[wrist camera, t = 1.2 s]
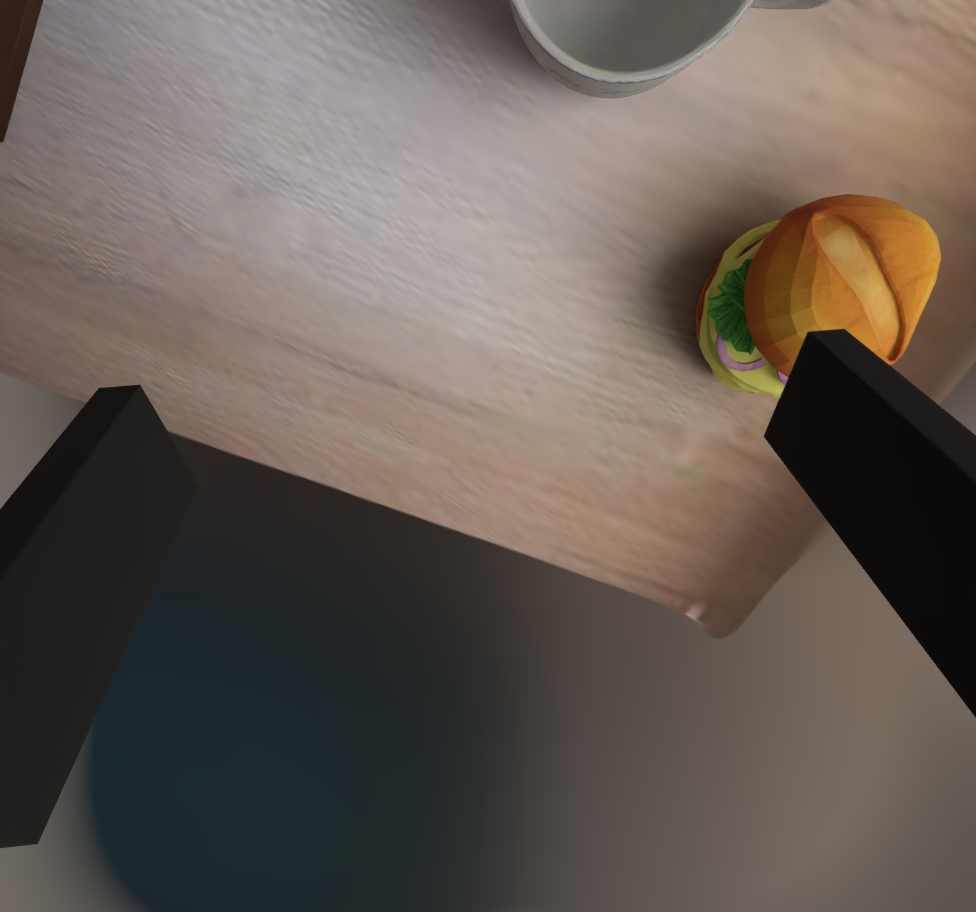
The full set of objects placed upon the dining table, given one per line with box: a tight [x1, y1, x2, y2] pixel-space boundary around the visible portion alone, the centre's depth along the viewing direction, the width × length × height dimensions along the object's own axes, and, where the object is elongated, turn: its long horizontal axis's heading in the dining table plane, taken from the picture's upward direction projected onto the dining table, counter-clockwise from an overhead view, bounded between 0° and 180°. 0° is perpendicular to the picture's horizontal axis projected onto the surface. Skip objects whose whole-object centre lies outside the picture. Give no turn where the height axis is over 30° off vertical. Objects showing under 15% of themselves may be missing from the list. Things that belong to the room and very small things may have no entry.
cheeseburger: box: [696, 194, 941, 398], centre depth 28 cm, size 10×11×10 cm
